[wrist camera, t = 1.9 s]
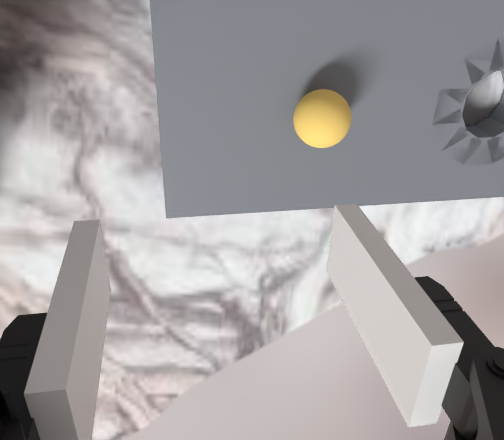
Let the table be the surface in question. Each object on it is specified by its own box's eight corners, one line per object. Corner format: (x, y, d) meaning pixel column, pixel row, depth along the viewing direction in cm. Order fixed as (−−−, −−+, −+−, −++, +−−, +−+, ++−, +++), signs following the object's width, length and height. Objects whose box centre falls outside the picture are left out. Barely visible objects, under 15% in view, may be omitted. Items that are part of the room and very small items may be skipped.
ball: (281, 132, 30) (295, 152, 27) (294, 78, 28) (310, 93, 25) (331, 139, 31) (350, 160, 28) (346, 87, 29) (368, 103, 26)
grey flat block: (165, 200, 34) (166, 218, 31) (148, -21, 27) (148, -18, 24) (519, 180, 38) (540, 194, 36) (584, -14, 31) (615, -11, 29)
